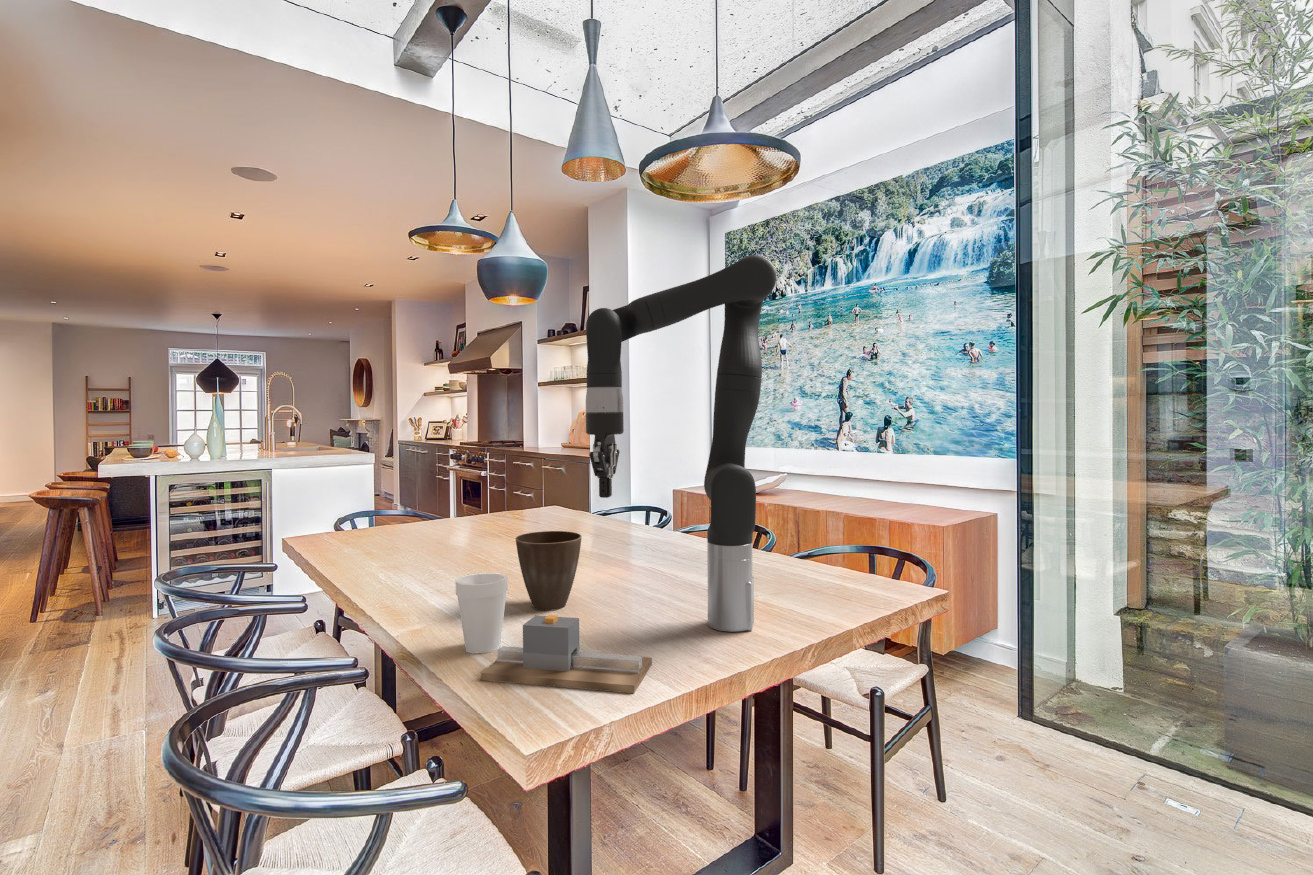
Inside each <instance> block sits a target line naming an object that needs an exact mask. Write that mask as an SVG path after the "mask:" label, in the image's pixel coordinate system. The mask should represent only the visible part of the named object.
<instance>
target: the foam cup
mask: <svg viewBox="0 0 1313 875" xmlns="http://www.w3.org/2000/svg"><path fill="white" fill-rule="evenodd" d="M508 582H509V581H508V576H507V575H506V574H503V573H498V572H497V573H496V572H479V573H472V574H467V575H462V576H459V577H457V578H456V579H455V596H457V602H458V608H459V614H460V615H459V616H460V621H461V629H462V634H463V635H462V636H463V641H464V642H463V643H464V646H465V651H466V652H467V651H468V653H469V654H474V653H481V654H488V653H492V652H495V651H497V650H498V649H500V648H501V644H502V634H503V627H504V626H503V625H504V615H505V608H506V599H507V591H508V589H509V585H508Z"/></svg>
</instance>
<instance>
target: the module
mask: <svg viewBox="0 0 1313 875" xmlns="http://www.w3.org/2000/svg"><path fill="white" fill-rule="evenodd" d="M580 643H581V642H580V618H579V617H570V616H569V617H568V616H567V617H565V616H559V615H558V614H548V615H534V616H533V617H532V618H530V619H529V620H527V621H526V622H525V623H523V624H522V648H523V668H533V669H545V670H557V671H570V669H571V653H572V652H573V651H575V652H581V650H580V649H581V648H580Z"/></svg>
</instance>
